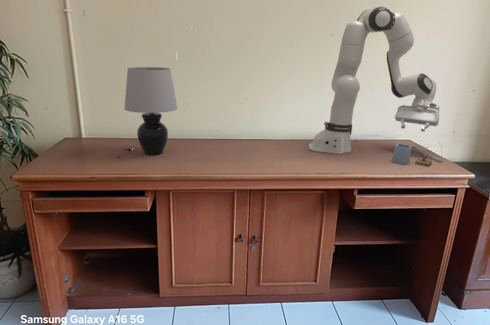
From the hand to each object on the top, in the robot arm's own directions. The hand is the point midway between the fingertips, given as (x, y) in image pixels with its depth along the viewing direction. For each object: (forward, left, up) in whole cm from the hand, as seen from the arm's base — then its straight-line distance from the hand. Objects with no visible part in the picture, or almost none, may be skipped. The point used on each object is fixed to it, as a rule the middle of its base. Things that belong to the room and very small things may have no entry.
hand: (412, 129), depth 177 cm
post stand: (+3, -13, -14) cm, 19 cm away
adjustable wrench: (+9, +4, -15) cm, 18 cm away
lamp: (-126, -24, -14) cm, 129 cm away
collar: (-7, -12, -14) cm, 19 cm away
